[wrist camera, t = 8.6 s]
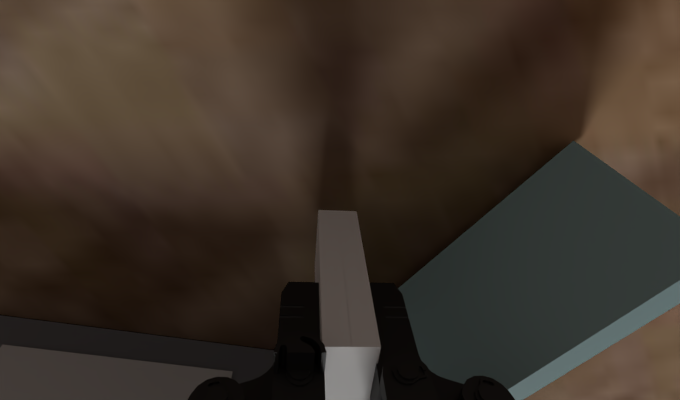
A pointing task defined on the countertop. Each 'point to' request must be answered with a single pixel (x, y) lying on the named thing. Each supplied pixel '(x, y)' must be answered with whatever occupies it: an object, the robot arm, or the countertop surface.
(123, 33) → the countertop surface
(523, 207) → the side door
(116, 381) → the box
